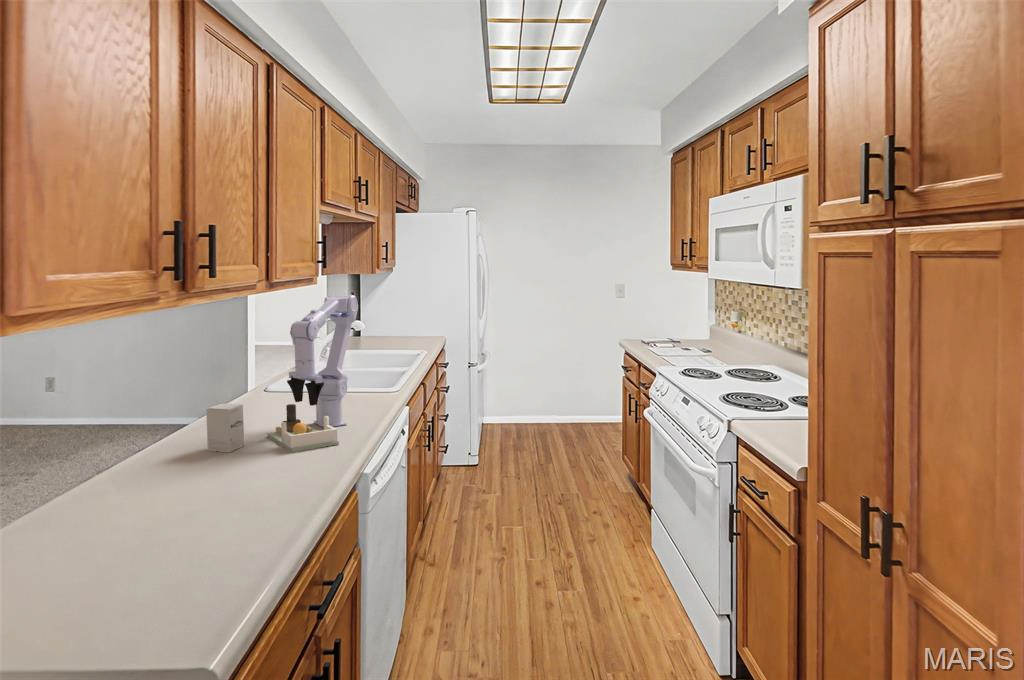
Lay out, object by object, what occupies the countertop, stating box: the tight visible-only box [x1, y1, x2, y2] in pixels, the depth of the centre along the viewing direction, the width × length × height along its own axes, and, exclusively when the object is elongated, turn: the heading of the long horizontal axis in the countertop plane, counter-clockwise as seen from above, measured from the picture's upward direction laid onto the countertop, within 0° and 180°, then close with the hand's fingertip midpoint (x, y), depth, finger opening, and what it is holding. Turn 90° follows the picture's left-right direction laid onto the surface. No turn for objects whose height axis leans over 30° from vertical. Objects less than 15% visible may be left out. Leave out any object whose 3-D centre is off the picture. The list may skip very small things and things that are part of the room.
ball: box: [293, 422, 307, 435], centre depth 209 cm, size 4×4×4 cm
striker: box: [282, 403, 302, 432], centre depth 214 cm, size 3×5×8 cm, turn 127°
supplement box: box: [205, 403, 245, 453], centre depth 198 cm, size 7×7×13 cm
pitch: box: [267, 416, 340, 453], centre depth 207 cm, size 22×14×7 cm, turn 37°
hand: (306, 403), depth 212 cm, fingers open, 7 cm apart
